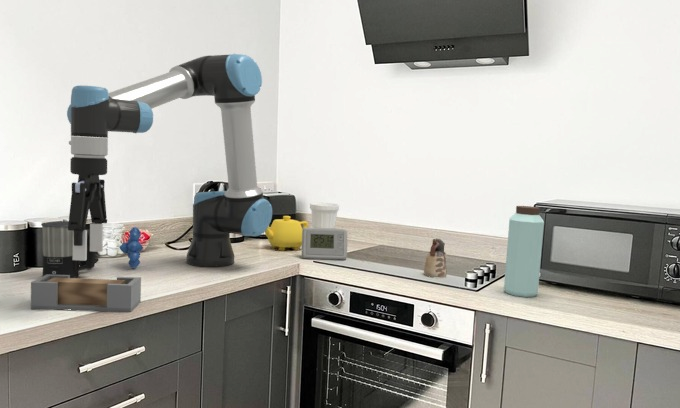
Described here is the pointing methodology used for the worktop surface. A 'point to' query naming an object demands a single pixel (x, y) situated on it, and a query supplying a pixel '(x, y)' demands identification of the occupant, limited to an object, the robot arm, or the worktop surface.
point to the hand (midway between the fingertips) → (88, 255)
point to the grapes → (133, 247)
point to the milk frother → (63, 251)
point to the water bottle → (524, 252)
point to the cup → (324, 215)
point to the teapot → (285, 233)
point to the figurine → (436, 260)
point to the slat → (83, 290)
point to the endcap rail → (117, 301)
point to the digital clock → (324, 243)
